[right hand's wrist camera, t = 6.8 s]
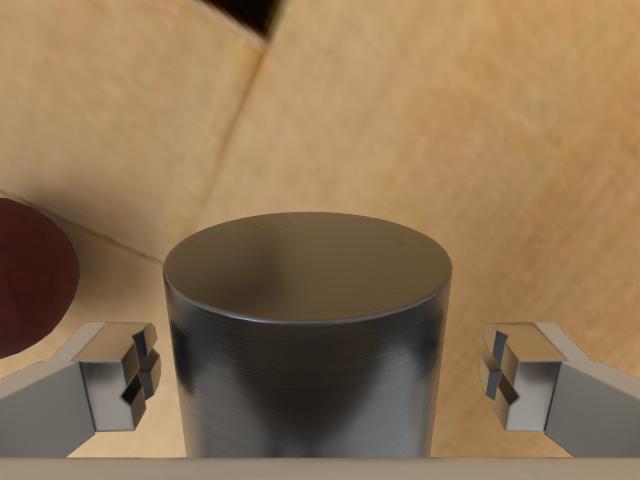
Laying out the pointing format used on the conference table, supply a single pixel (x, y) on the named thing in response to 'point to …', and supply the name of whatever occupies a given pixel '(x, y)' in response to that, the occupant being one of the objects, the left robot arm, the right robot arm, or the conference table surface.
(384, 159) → the conference table surface
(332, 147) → the conference table surface
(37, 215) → the dark red ball
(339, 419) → the rod
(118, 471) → the right robot arm
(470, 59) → the conference table surface
